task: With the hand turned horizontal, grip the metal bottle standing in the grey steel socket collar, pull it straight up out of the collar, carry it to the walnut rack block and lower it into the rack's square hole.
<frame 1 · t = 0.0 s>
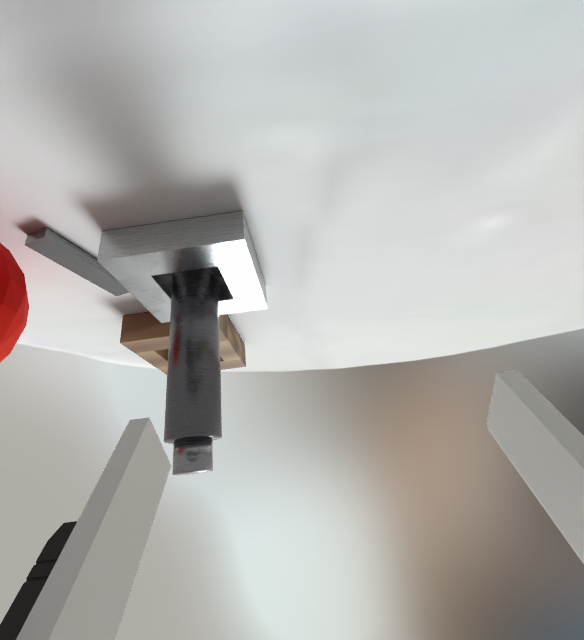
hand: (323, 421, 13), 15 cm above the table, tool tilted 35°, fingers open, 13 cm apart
rack: (191, 332, 40), on the table
metal bottle: (196, 262, 28), resting in socket collar
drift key: (87, 262, 27), on the table
socket collar: (196, 262, 28), on the table
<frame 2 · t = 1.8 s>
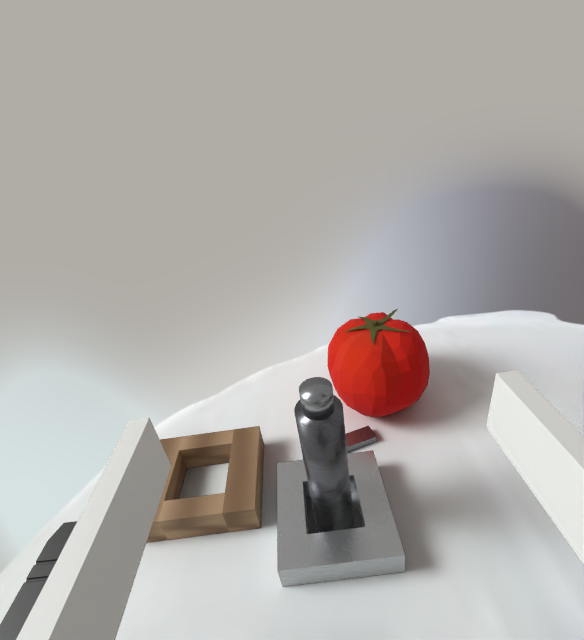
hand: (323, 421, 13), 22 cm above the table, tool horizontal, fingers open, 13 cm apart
rack: (207, 488, 37), on the table
metal bottle: (334, 518, 32), resting in socket collar
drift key: (341, 447, 39), on the table
tomato: (377, 399, 45), on the table
socket collar: (334, 518, 32), on the table
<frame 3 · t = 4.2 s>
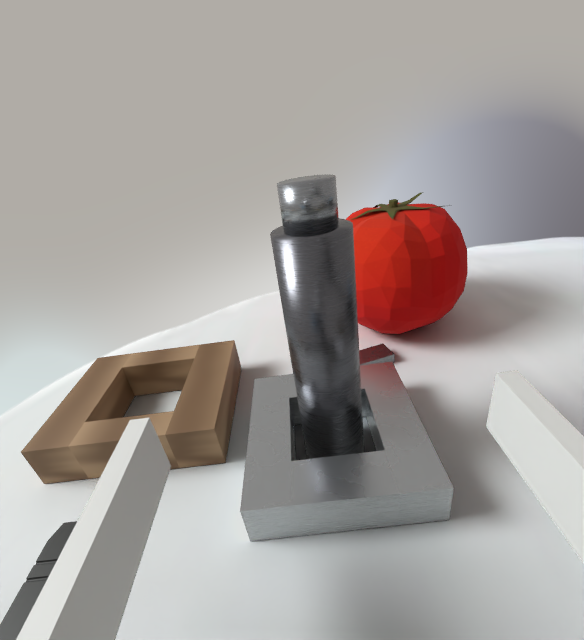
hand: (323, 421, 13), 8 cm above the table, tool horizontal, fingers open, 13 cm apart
rack: (158, 417, 27), on the table
metal bottle: (334, 450, 22), resting in socket collar
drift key: (345, 369, 29), on the table
tomato: (393, 322, 35), on the table
socket collar: (334, 450, 22), on the table
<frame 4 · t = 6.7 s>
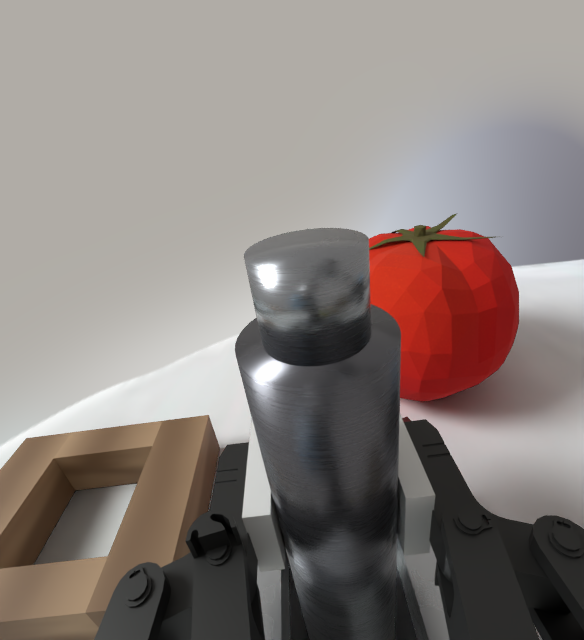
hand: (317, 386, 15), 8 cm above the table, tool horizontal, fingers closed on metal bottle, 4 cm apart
rack: (99, 533, 19), on the table
metal bottle: (349, 620, 14), resting in socket collar, touching gripper
tomato: (415, 376, 27), on the table
socket collar: (349, 620, 14), on the table
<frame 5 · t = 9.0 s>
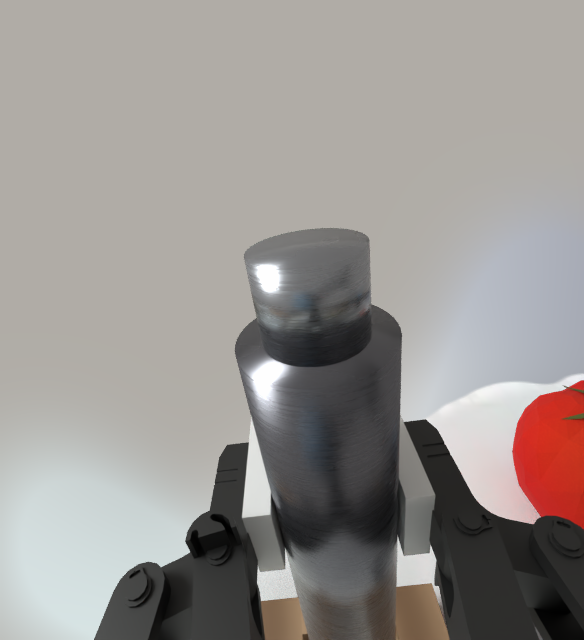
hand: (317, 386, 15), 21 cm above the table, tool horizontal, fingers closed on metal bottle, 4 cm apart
metal bottle: (350, 621, 14), point 13 cm above the table, touching gripper
when the fingers open (9 cm above the table, at t = 11.4 s): metal bottle drops 1 cm, resting in rack.
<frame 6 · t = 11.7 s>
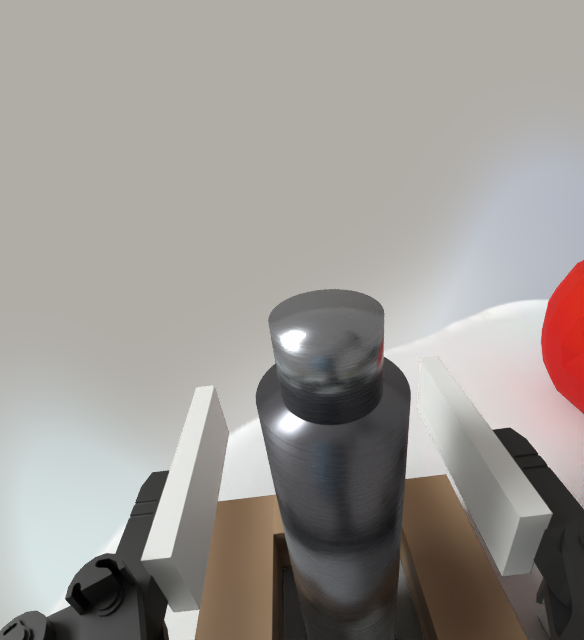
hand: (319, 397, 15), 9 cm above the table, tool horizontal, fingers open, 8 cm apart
rack: (351, 636, 15), on the table
metal bottle: (350, 637, 15), resting in rack
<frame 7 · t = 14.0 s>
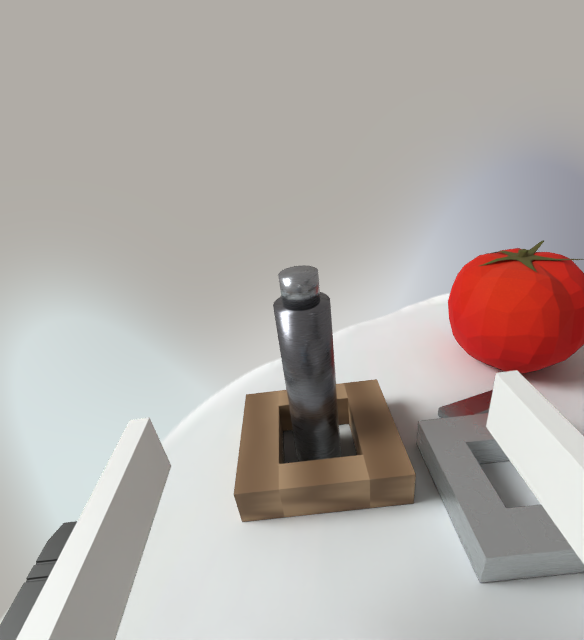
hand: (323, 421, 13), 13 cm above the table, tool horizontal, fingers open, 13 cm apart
rack: (319, 454, 28), on the table
metal bottle: (318, 455, 28), resting in rack
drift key: (483, 408, 31), on the table
tomato: (504, 358, 37), on the table
socket collar: (515, 492, 24), on the table
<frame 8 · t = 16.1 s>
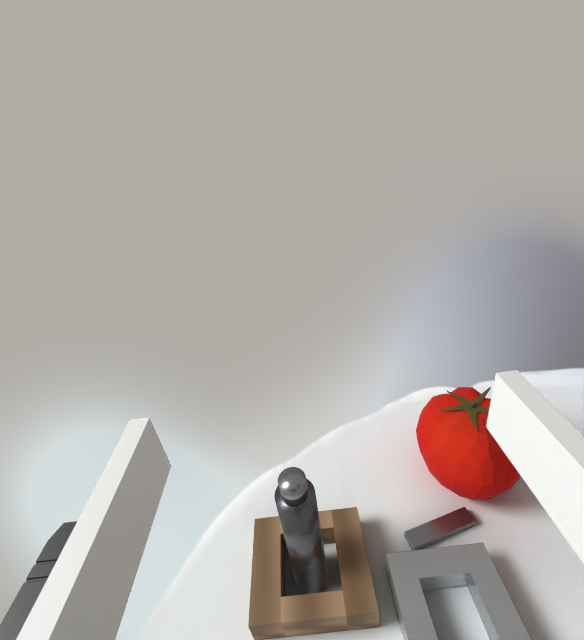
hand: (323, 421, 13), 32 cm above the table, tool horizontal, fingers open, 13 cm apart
rack: (312, 574, 37), on the table
metal bottle: (311, 575, 37), resting in rack
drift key: (439, 530, 39), on the table
tomato: (463, 472, 45), on the table
socket collar: (453, 619, 32), on the table
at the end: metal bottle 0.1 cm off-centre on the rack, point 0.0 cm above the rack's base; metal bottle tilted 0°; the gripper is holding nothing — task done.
